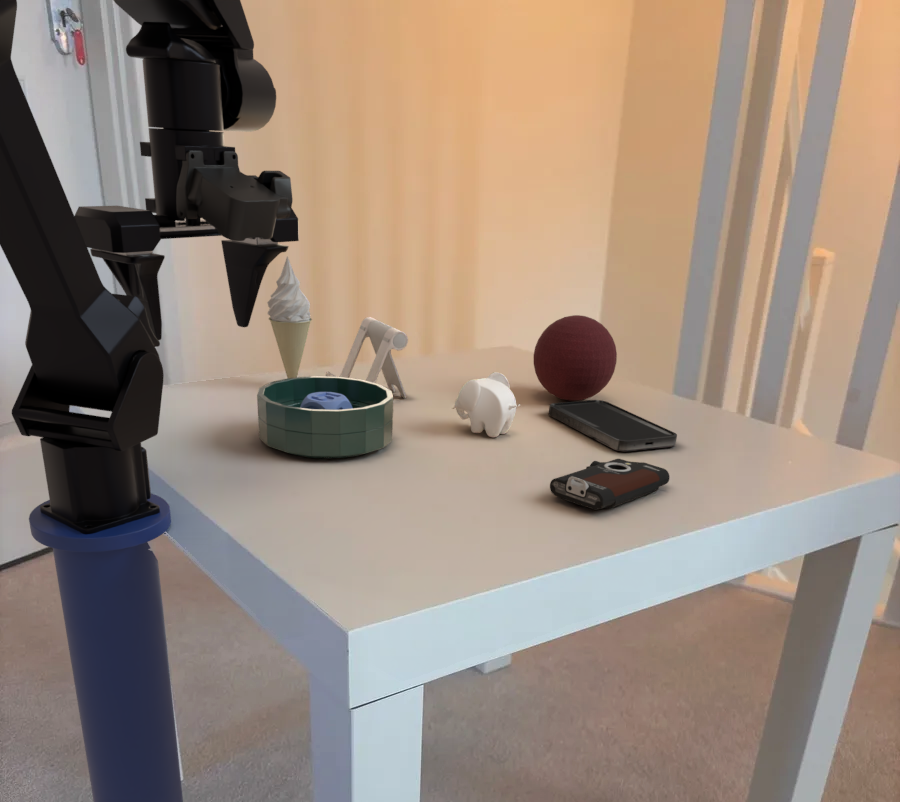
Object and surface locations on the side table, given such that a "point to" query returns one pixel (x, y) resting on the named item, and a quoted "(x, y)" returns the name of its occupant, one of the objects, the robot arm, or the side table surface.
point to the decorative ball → (575, 358)
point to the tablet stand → (378, 352)
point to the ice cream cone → (289, 319)
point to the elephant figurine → (487, 404)
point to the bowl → (325, 417)
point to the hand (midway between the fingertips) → (201, 332)
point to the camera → (609, 483)
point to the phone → (612, 425)
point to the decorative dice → (326, 401)
